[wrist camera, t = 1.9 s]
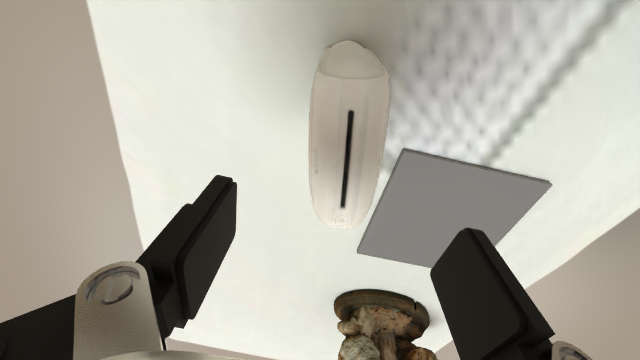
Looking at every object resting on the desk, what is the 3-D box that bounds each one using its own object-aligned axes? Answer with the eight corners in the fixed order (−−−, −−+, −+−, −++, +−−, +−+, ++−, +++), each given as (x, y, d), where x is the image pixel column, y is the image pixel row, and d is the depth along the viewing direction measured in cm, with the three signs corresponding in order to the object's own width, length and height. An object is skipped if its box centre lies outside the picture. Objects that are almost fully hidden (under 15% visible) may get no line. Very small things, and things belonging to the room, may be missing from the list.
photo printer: (360, 154, 25) (374, 248, 15) (319, 152, 25) (305, 243, 15) (375, 40, 19) (413, 68, 9) (321, 39, 20) (301, 64, 9)
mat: (402, 148, 25) (404, 151, 24) (548, 181, 25) (552, 184, 25) (357, 249, 34) (357, 253, 33) (465, 271, 34) (467, 275, 34)
